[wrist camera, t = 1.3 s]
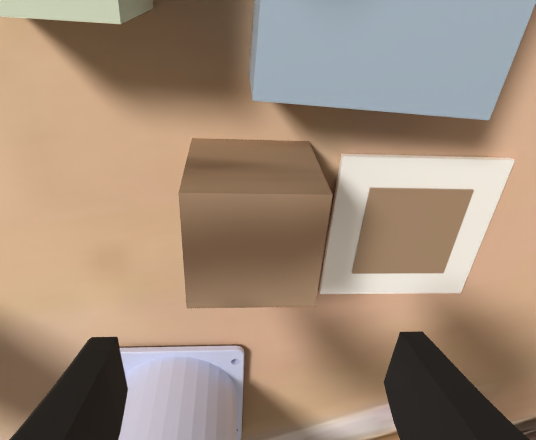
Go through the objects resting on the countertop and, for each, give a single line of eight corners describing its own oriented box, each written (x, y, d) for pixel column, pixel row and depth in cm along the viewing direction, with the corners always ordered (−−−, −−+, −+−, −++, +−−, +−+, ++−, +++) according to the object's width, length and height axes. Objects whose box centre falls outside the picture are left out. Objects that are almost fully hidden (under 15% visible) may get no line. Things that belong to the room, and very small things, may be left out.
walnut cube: (297, 235, 20) (315, 306, 16) (196, 235, 20) (186, 308, 15) (308, 140, 17) (332, 194, 13) (192, 137, 17) (178, 193, 13)
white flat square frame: (458, 289, 23) (461, 294, 22) (319, 290, 22) (320, 295, 22) (510, 157, 18) (516, 161, 18) (341, 153, 18) (343, 157, 17)
